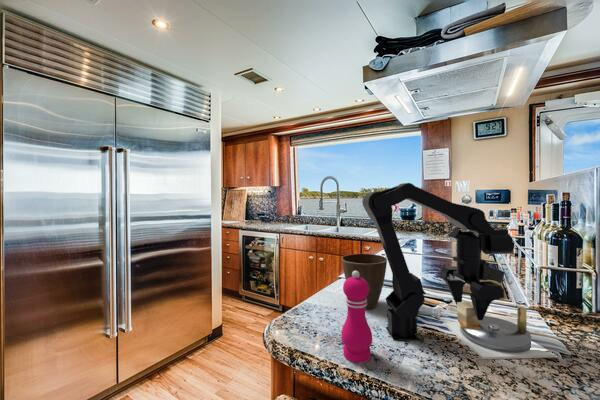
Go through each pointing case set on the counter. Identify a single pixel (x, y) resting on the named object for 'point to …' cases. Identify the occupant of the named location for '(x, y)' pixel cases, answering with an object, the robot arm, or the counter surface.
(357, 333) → the pepper mill
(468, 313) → the link block
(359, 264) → the plant pot
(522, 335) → the crank wheel
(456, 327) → the base board
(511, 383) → the counter surface
